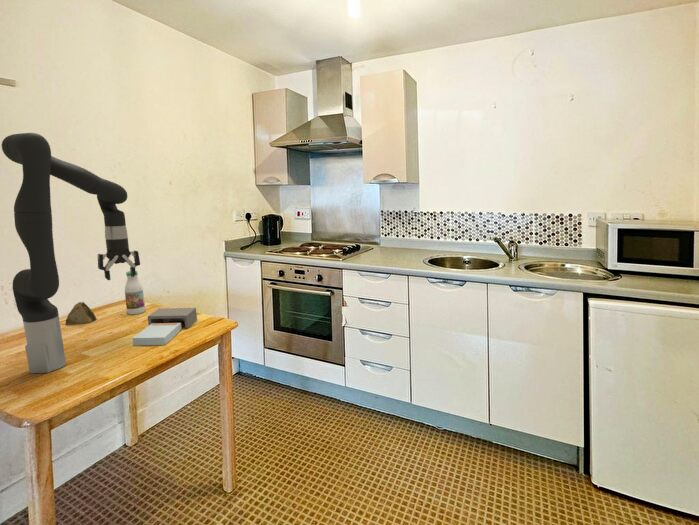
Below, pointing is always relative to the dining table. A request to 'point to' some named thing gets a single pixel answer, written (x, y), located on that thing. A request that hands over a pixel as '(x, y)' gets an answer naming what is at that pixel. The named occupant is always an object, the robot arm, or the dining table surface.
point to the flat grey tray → (157, 334)
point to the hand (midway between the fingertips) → (121, 278)
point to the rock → (80, 314)
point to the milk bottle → (134, 295)
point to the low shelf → (173, 315)
